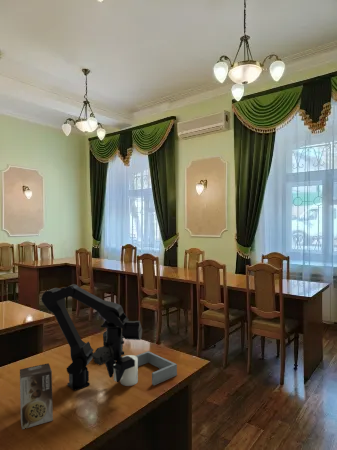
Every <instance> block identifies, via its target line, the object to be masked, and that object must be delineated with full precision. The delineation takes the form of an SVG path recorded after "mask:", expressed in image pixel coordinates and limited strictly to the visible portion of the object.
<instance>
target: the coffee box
mask: <svg viewBox="0 0 337 450" xmlns="http://www.w3.org/2000/svg"><path fill="white" fill-rule="evenodd" d="M52 373H53V371H52V369H51V365H50V363H42V364H39V365H35V366H30V367H24V368H21V369H19V394H20V396H19V397H20V398H19V400H20V424H21V425H20V426H21V430H25V428H26V429H29V428H32V427H35V426H38V425H42V424H46V423H49V422H52V421H53V420H54V415H53V411H54V410H53V409H54V408H53V379H52V378H53V377H52V376H53V374H52Z"/></svg>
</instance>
